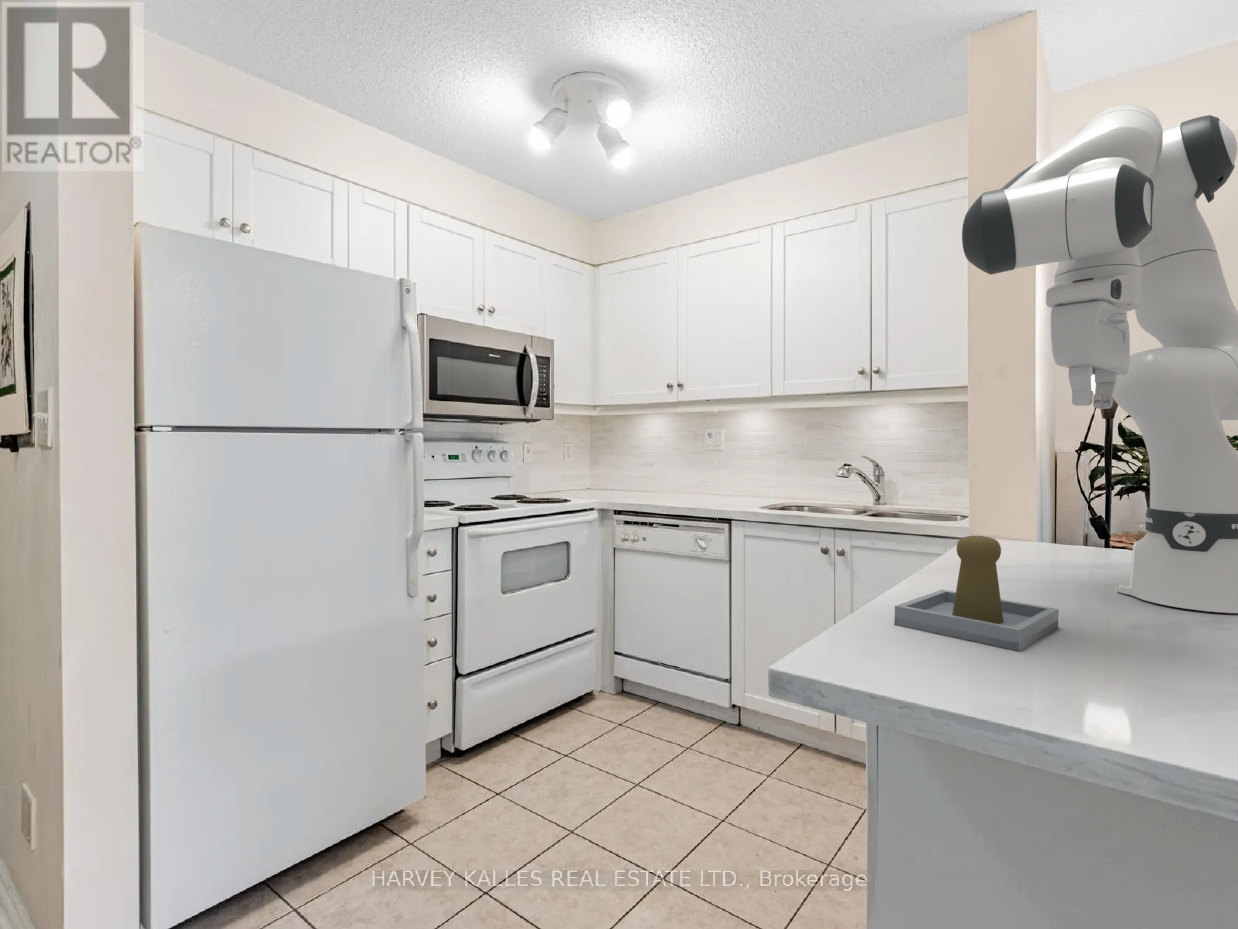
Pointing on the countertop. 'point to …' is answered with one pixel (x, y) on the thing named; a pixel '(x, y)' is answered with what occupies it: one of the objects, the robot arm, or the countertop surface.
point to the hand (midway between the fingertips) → (1092, 407)
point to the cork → (978, 580)
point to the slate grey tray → (978, 621)
